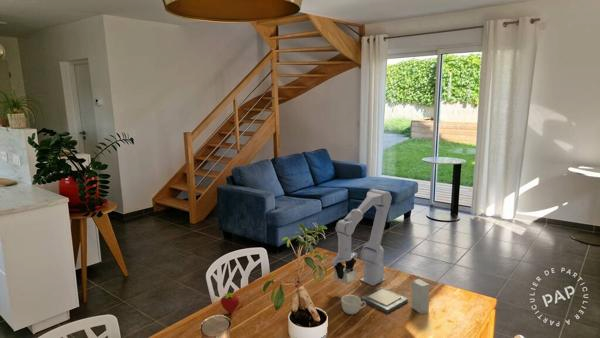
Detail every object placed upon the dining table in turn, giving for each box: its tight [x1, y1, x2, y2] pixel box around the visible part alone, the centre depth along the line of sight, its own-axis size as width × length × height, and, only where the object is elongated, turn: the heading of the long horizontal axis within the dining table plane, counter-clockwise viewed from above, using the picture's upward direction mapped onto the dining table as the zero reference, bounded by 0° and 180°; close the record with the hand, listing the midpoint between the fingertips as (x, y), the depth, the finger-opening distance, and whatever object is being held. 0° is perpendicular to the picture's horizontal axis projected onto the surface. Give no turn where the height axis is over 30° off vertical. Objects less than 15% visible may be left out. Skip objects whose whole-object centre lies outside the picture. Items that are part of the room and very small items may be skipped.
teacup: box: [341, 294, 367, 315], centre depth 158 cm, size 10×8×5 cm
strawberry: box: [220, 292, 240, 314], centre depth 157 cm, size 6×8×10 cm
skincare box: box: [411, 278, 430, 315], centre depth 158 cm, size 6×4×12 cm
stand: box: [360, 286, 409, 314], centre depth 166 cm, size 14×14×2 cm
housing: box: [333, 265, 356, 285], centre depth 172 cm, size 5×8×6 cm, turn 40°
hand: (344, 276), depth 172 cm, fingers closed on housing, 5 cm apart
